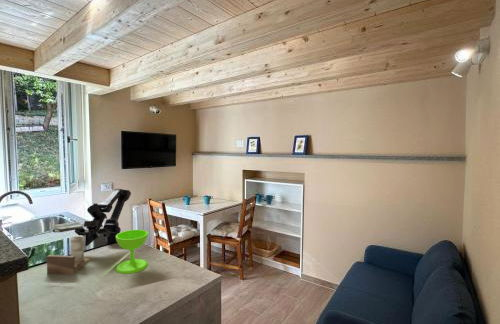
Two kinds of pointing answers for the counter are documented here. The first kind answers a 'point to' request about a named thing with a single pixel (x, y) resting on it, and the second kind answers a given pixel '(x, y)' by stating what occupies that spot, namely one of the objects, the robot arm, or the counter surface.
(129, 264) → the wineglass
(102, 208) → the robot arm
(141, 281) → the counter surface
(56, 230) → the dish towel
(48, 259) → the roll holder
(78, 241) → the roll carriage
